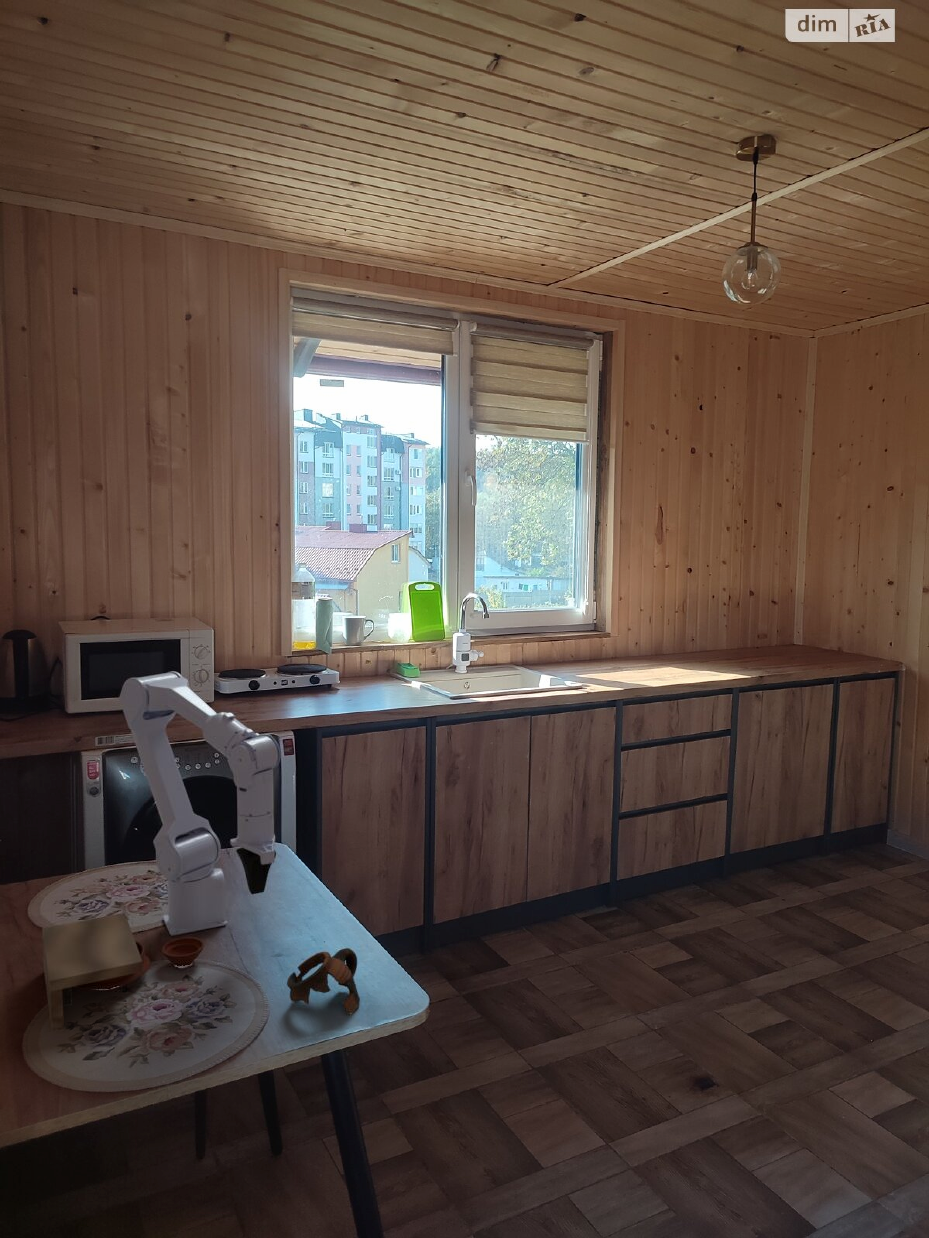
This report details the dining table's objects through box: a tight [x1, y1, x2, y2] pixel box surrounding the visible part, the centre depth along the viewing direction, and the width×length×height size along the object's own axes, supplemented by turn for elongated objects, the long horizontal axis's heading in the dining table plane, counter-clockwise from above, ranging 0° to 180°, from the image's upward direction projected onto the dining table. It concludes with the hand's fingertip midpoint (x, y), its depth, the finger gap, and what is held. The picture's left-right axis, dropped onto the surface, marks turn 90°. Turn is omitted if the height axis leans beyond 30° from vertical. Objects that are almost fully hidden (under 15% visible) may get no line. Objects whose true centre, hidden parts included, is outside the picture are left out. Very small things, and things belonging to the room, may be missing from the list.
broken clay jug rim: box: [286, 947, 361, 1015], centre depth 130 cm, size 12×10×8 cm
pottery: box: [75, 937, 205, 991], centre depth 137 cm, size 12×20×4 cm, turn 119°
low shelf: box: [41, 912, 143, 1030], centre depth 132 cm, size 12×18×7 cm, turn 28°
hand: (256, 891), depth 145 cm, fingers closed
